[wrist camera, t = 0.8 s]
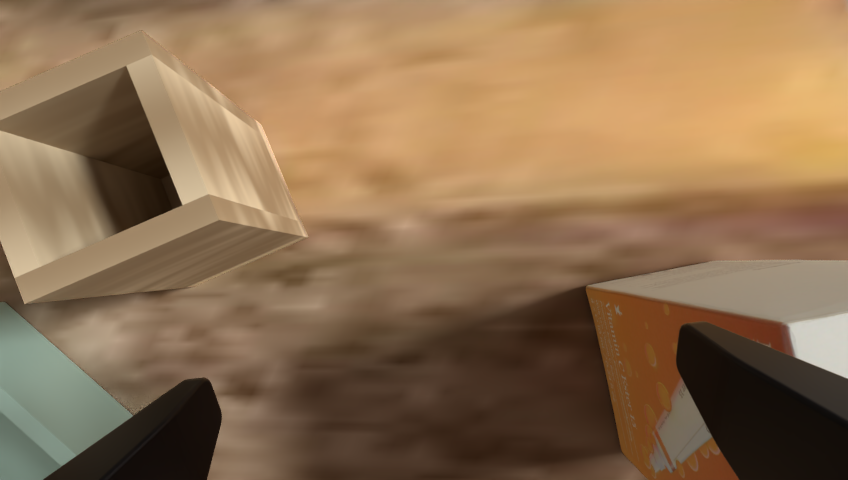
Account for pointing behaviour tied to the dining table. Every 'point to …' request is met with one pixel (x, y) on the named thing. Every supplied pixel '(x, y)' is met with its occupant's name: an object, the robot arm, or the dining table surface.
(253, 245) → the birch crate
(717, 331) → the robot arm
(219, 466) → the dining table surface
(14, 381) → the teal crate
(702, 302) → the small box
